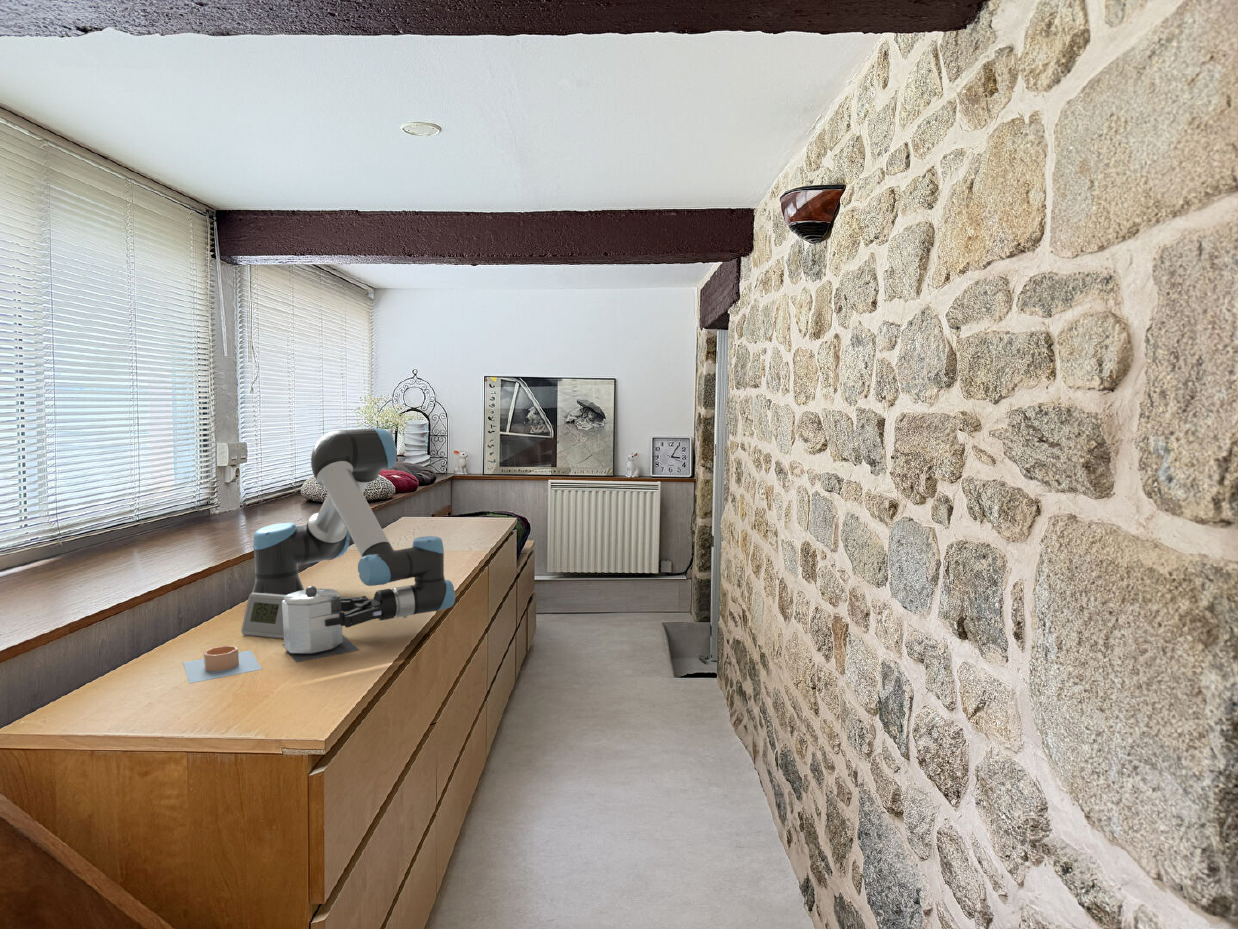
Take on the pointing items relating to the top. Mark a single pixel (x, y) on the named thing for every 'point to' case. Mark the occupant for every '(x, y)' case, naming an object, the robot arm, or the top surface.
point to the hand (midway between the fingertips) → (302, 618)
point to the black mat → (339, 649)
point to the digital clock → (264, 616)
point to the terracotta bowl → (221, 658)
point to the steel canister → (297, 620)
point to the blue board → (199, 673)
